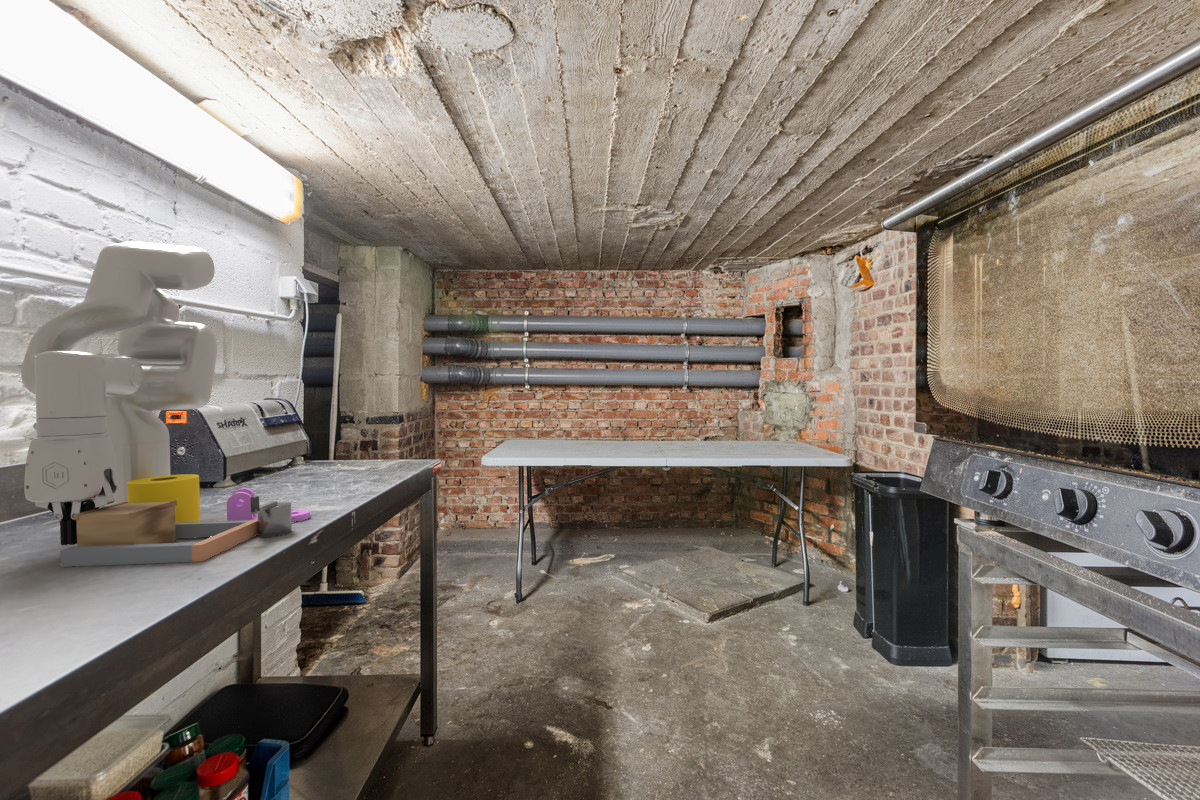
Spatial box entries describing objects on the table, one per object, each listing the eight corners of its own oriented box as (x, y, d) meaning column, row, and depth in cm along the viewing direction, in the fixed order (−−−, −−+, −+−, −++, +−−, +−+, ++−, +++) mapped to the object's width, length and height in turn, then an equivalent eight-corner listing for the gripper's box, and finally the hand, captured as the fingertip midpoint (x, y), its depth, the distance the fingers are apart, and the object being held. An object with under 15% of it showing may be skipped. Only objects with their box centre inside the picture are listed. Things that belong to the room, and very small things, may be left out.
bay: (143, 537, 83) (143, 523, 83) (260, 533, 85) (260, 519, 85) (60, 567, 69) (60, 550, 69) (202, 561, 71) (202, 544, 71)
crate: (125, 543, 81) (123, 501, 80) (177, 541, 81) (176, 500, 81) (75, 561, 72) (73, 514, 72) (134, 559, 73) (133, 512, 73)
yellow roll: (203, 518, 96) (202, 472, 96) (196, 530, 88) (195, 479, 88) (135, 526, 91) (134, 478, 90) (121, 540, 82) (120, 486, 82)
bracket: (227, 531, 87) (226, 494, 87) (232, 524, 92) (231, 489, 92) (309, 521, 94) (309, 486, 94) (310, 515, 99) (309, 481, 98)
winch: (269, 529, 88) (268, 487, 87) (297, 528, 88) (296, 486, 88) (237, 544, 79) (236, 498, 79) (269, 543, 80) (268, 497, 79)
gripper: (-7, 431, 71) (-3, 552, 72) (100, 429, 72) (104, 548, 73) (47, 427, 79) (51, 537, 79) (143, 426, 80) (146, 533, 80)
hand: (76, 542), depth 76 cm, fingers closed
